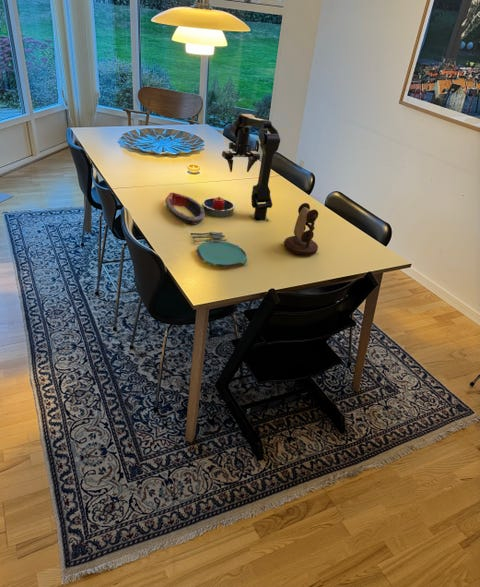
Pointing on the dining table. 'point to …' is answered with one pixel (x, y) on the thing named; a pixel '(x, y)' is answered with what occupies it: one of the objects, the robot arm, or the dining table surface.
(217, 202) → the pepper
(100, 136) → the dining table surface
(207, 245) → the cutlery set
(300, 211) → the brown upright piece
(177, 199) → the dish
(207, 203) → the bowl
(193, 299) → the dining table surface
